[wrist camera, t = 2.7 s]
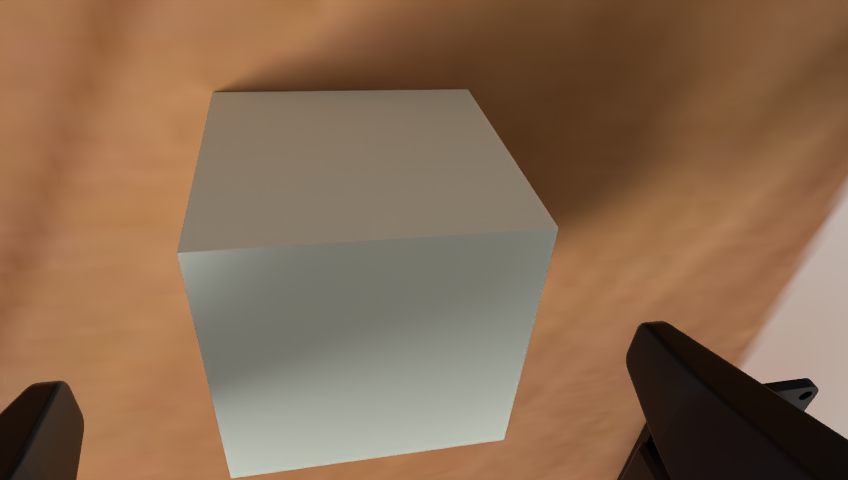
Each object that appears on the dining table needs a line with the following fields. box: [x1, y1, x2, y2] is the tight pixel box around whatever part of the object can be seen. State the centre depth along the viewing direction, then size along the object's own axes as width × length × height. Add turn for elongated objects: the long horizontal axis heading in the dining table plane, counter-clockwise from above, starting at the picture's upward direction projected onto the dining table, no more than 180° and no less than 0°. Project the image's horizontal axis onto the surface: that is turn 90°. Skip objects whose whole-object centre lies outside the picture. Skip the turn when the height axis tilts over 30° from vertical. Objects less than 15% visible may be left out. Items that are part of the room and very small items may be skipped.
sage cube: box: [177, 89, 559, 478], centre depth 11 cm, size 5×5×5 cm
